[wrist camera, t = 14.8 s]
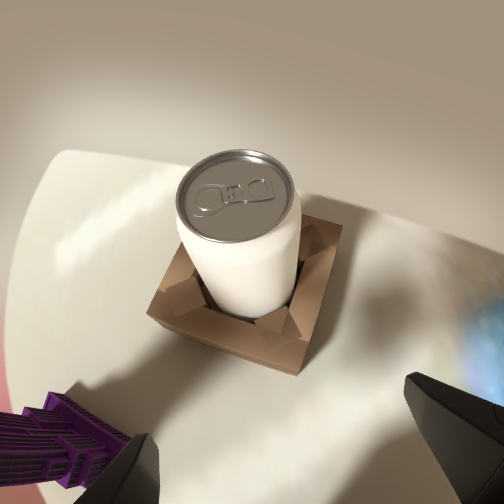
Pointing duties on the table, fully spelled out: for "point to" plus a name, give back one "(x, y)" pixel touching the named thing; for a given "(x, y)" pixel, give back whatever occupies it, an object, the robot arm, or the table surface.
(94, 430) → the building model
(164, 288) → the socket block
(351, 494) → the table surface
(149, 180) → the table surface
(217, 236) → the can
